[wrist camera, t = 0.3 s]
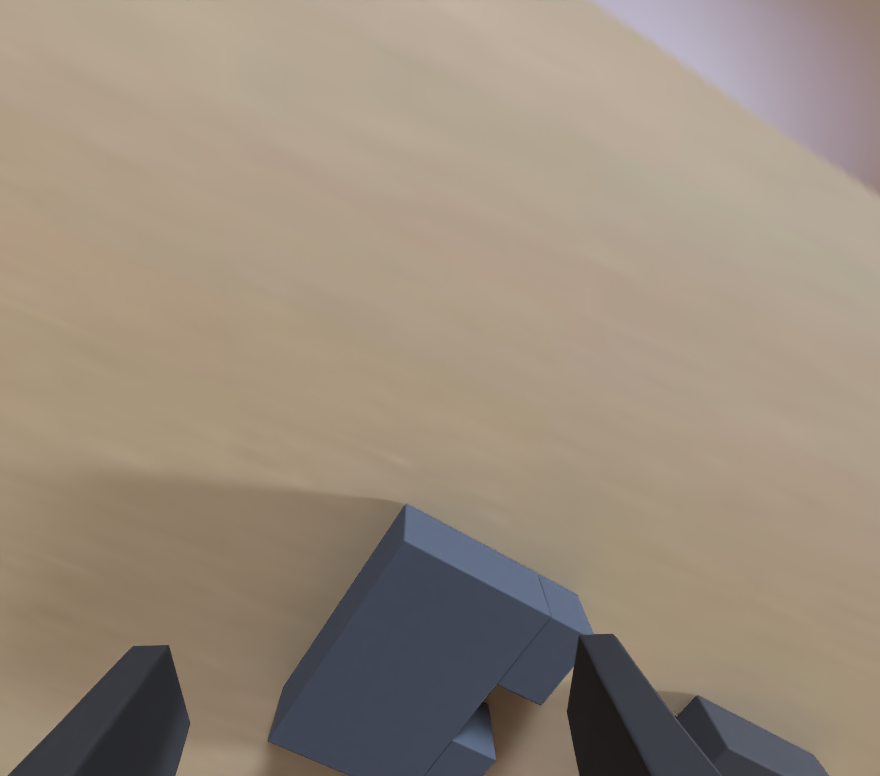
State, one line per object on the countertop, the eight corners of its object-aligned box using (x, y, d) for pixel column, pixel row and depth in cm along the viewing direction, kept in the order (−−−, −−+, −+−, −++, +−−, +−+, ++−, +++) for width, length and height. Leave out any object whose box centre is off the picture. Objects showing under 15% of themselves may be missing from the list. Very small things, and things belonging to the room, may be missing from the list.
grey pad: (445, 758, 24) (448, 817, 22) (283, 686, 23) (266, 741, 20) (577, 594, 22) (597, 640, 19) (406, 502, 20) (403, 539, 18)
